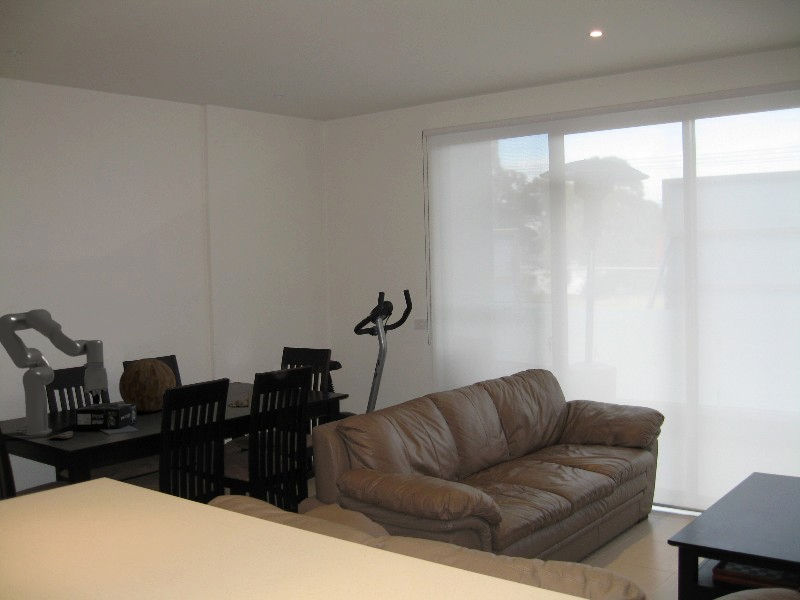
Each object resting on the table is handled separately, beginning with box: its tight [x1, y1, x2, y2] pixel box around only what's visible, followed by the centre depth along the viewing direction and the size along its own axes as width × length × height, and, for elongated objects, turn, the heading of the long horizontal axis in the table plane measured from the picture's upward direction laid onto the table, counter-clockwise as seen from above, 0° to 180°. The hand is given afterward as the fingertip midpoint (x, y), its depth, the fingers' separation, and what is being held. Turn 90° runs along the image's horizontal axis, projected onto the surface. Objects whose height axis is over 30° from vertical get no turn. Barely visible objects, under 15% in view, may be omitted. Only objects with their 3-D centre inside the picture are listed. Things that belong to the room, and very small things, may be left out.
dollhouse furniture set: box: [228, 391, 253, 408], centre depth 446 cm, size 13×13×11 cm
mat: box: [98, 425, 140, 436], centre depth 384 cm, size 14×25×1 cm, turn 35°
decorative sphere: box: [118, 357, 177, 413], centre depth 434 cm, size 30×30×30 cm
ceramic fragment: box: [48, 430, 74, 439], centre depth 366 cm, size 11×3×10 cm
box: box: [74, 402, 138, 430], centre depth 392 cm, size 23×10×19 cm
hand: (96, 403), depth 379 cm, fingers closed
